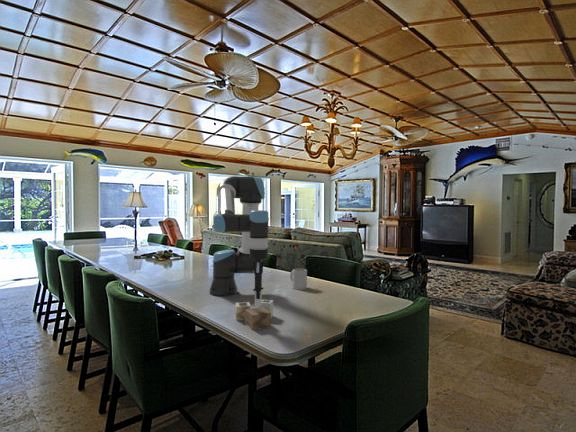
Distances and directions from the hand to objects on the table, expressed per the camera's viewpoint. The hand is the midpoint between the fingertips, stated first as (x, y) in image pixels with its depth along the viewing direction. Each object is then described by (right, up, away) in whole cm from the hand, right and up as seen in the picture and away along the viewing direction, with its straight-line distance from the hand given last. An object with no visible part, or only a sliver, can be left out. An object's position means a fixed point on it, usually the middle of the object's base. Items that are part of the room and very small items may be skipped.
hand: (258, 306), depth 139 cm
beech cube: (-7, -8, +9) cm, 14 cm away
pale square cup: (+2, -8, +10) cm, 13 cm away
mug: (+18, -6, +65) cm, 68 cm away
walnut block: (0, -8, 0) cm, 8 cm away
